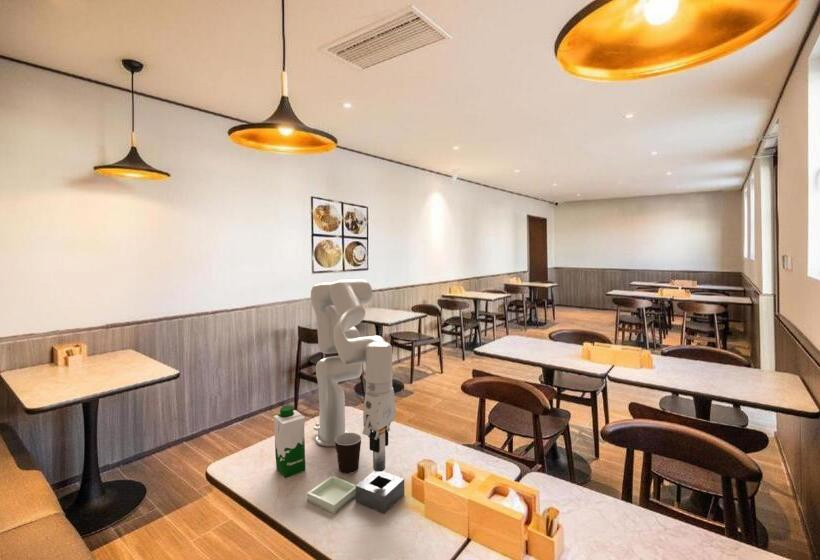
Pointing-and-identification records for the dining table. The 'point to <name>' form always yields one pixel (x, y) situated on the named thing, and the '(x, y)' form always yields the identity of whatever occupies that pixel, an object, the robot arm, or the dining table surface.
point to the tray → (332, 494)
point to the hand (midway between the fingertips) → (379, 447)
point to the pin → (380, 453)
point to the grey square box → (380, 491)
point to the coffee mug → (348, 452)
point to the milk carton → (289, 441)
